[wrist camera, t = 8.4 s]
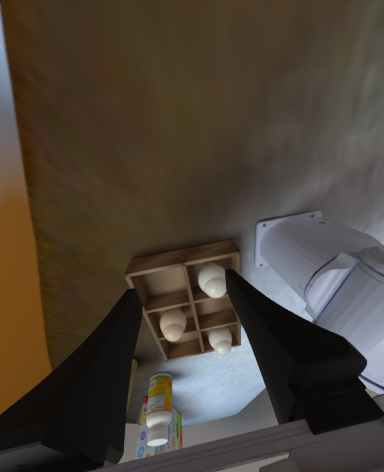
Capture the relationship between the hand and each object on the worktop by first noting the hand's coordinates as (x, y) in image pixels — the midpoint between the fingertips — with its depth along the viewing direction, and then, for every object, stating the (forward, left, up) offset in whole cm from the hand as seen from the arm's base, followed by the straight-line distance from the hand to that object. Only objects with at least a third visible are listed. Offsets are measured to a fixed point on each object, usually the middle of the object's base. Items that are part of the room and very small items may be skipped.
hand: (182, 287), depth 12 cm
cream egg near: (-4, +6, -9) cm, 11 cm away
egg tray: (0, +13, -9) cm, 16 cm away
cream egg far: (-4, +20, -9) cm, 22 cm away
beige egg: (+4, +13, -9) cm, 16 cm away
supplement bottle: (+12, +38, -10) cm, 41 cm away
